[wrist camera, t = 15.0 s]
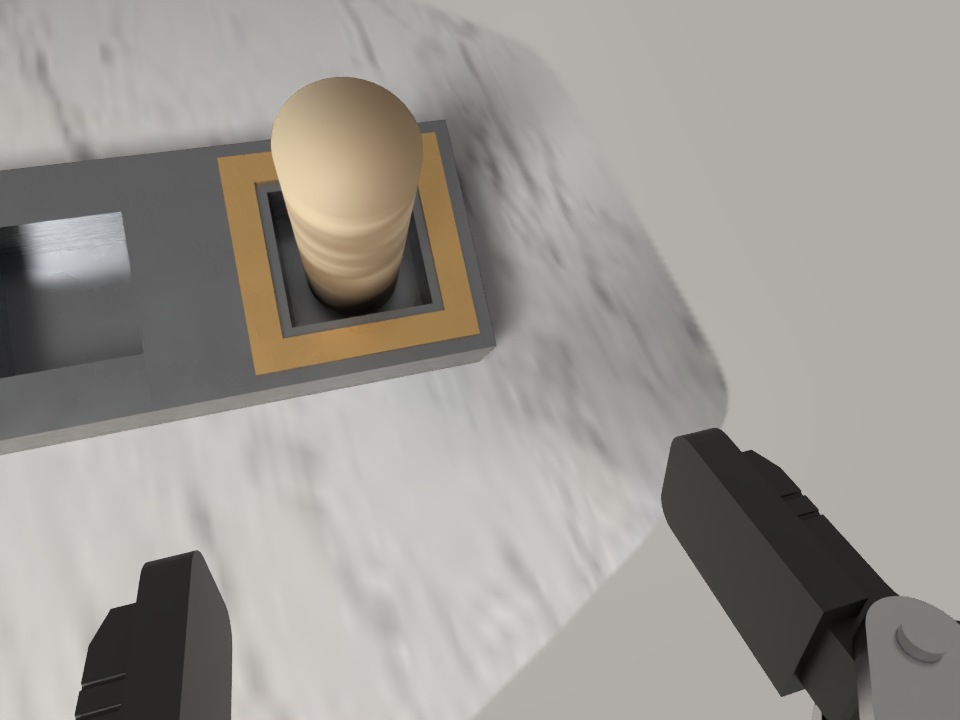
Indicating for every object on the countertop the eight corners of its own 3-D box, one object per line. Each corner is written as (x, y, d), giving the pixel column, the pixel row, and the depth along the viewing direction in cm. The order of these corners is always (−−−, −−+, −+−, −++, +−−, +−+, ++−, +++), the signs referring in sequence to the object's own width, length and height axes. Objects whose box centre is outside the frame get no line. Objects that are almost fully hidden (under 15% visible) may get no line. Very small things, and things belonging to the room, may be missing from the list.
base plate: (-24, 459, 26) (-94, 457, 22) (-52, 224, 27) (-124, 182, 23) (479, 361, 31) (497, 344, 26) (435, 162, 32) (446, 117, 28)
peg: (315, 323, 28) (286, 228, 17) (298, 236, 29) (258, 84, 17) (405, 307, 29) (437, 206, 18) (387, 223, 30) (407, 70, 18)
